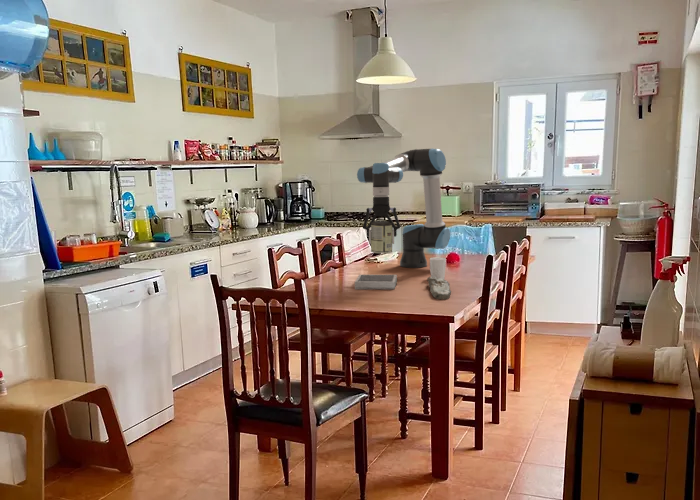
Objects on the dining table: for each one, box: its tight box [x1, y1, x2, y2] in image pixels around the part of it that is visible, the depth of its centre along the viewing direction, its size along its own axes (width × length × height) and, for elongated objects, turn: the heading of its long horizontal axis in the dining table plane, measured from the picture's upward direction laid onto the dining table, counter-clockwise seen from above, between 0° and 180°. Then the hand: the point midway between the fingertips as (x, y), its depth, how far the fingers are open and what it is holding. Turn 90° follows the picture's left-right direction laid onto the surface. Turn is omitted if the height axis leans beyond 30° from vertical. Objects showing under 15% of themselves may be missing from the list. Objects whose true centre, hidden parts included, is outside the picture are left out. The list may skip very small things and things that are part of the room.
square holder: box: [354, 274, 398, 291], centre depth 283 cm, size 18×18×4 cm
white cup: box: [429, 256, 447, 279], centre depth 297 cm, size 8×8×10 cm
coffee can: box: [370, 220, 393, 254], centre depth 280 cm, size 10×10×14 cm
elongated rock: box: [427, 276, 452, 300], centre depth 268 cm, size 35×5×10 cm
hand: (381, 243), depth 281 cm, fingers closed on coffee can, 10 cm apart
